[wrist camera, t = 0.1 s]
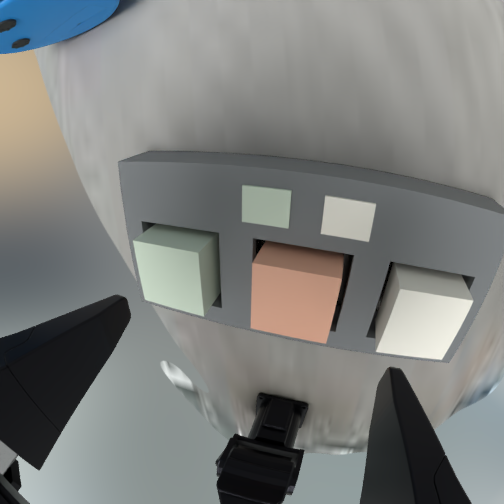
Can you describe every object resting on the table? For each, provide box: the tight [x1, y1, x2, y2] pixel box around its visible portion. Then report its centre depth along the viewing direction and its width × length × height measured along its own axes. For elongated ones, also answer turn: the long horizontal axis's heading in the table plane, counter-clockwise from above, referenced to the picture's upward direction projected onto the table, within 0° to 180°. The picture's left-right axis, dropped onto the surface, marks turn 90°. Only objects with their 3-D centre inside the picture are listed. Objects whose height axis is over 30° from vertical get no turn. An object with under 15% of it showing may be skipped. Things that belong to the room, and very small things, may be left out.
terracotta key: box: [251, 240, 344, 344], centre depth 20 cm, size 5×5×4 cm
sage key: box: [133, 223, 221, 316], centre depth 22 cm, size 5×5×4 cm
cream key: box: [375, 262, 474, 360], centre depth 18 cm, size 5×5×4 cm
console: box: [118, 151, 504, 363], centre depth 21 cm, size 13×28×4 cm, turn 88°
